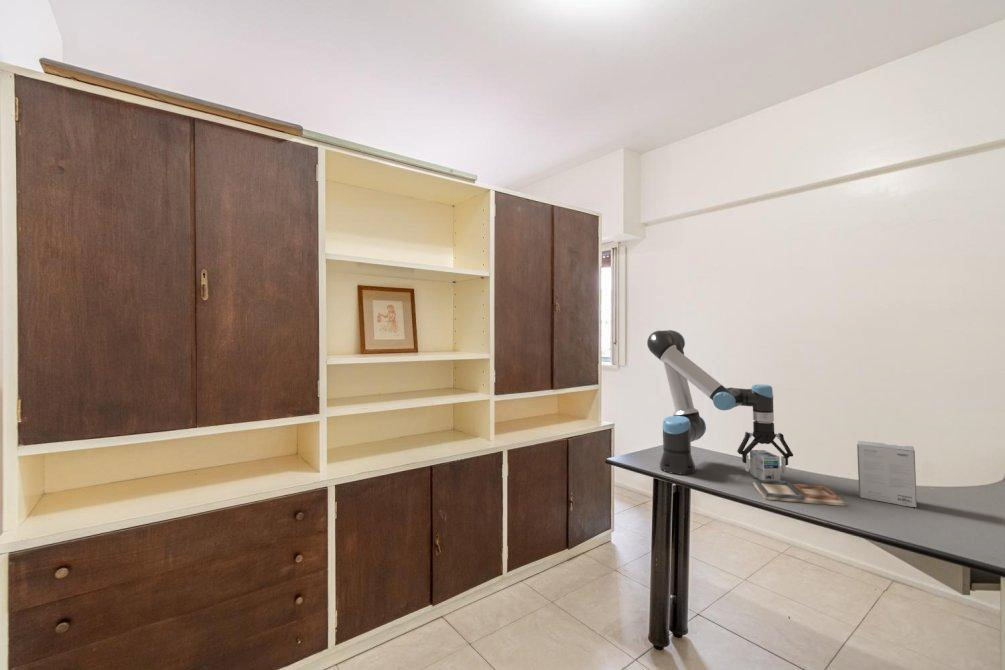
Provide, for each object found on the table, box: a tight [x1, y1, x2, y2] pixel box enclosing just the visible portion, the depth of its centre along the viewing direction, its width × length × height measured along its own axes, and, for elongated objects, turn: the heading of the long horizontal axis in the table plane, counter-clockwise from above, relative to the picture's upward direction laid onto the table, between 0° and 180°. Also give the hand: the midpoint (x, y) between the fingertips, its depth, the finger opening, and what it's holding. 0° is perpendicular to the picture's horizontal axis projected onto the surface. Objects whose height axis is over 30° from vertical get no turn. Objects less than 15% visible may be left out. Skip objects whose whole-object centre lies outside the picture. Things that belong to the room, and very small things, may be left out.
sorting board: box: [752, 478, 847, 507], centre depth 159 cm, size 25×16×2 cm, turn 73°
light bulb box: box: [749, 449, 781, 481], centre depth 177 cm, size 11×7×11 cm, turn 179°
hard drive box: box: [856, 440, 918, 508], centre depth 152 cm, size 16×8×20 cm, turn 47°
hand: (765, 471), depth 177 cm, fingers open, 13 cm apart
